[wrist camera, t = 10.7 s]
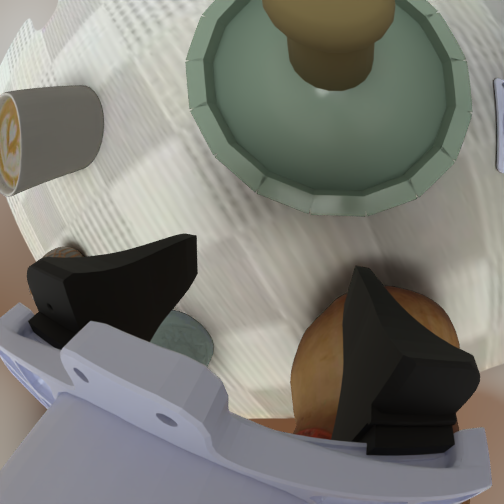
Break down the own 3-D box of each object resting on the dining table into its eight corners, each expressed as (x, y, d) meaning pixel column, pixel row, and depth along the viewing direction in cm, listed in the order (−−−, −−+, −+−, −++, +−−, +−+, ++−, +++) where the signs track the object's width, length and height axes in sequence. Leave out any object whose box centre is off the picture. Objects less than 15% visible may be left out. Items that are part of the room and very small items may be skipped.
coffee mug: (99, 71, 20) (18, 72, 11) (110, 160, 24) (30, 187, 15) (37, 112, 24) (-24, 126, 15) (47, 181, 28) (-12, 207, 19)
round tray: (433, -15, 9) (441, -26, 7) (453, 212, 17) (465, 223, 15) (195, -9, 14) (181, -19, 12) (215, 204, 23) (202, 214, 21)
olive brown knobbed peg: (278, 26, 14) (221, -51, 5) (358, 13, 12) (374, -74, 3) (300, 98, 17) (264, 64, 7) (383, 86, 15) (440, 45, 5)
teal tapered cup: (153, 349, 35) (107, 412, 25) (142, 292, 30) (76, 359, 20) (221, 373, 33) (183, 449, 23) (221, 316, 28) (168, 406, 18)
